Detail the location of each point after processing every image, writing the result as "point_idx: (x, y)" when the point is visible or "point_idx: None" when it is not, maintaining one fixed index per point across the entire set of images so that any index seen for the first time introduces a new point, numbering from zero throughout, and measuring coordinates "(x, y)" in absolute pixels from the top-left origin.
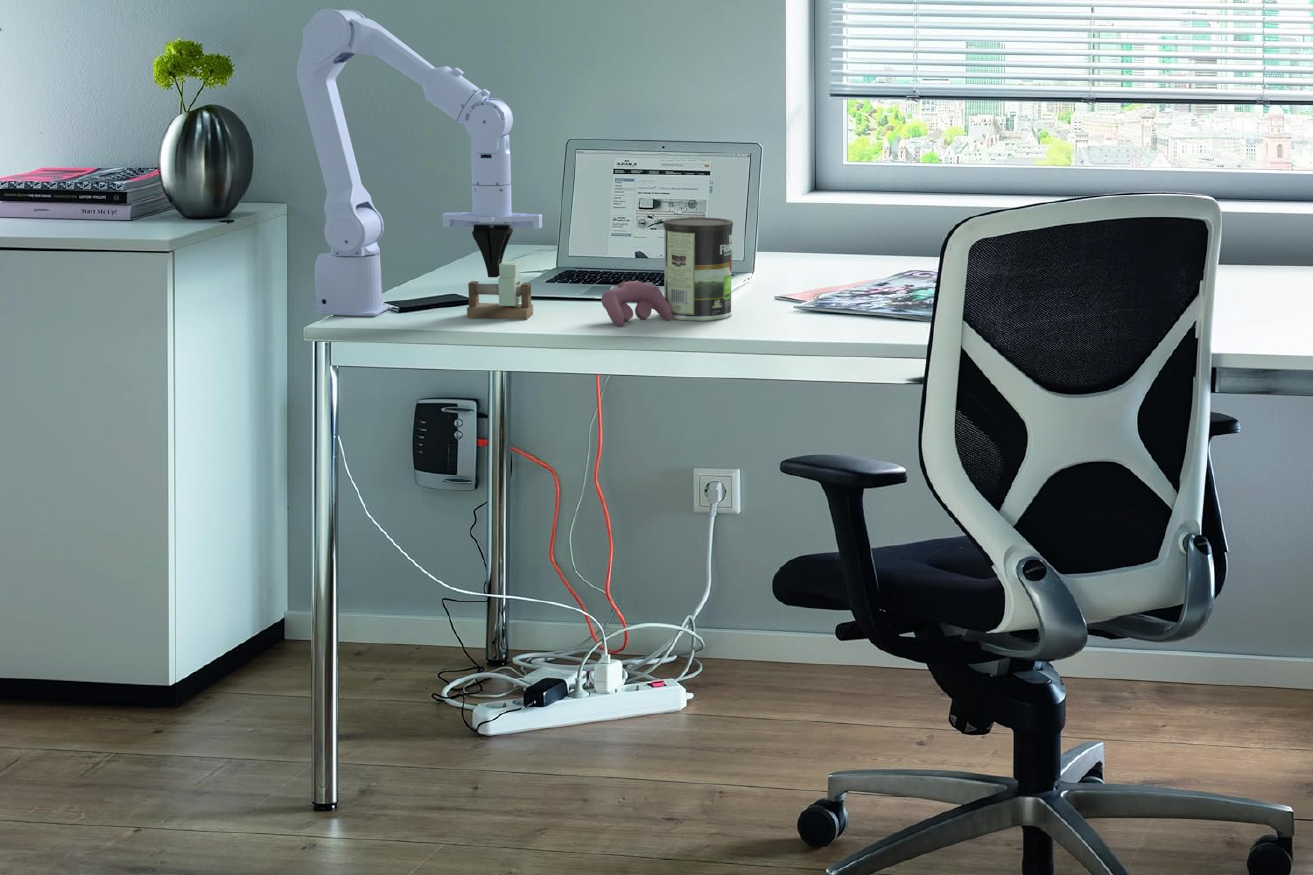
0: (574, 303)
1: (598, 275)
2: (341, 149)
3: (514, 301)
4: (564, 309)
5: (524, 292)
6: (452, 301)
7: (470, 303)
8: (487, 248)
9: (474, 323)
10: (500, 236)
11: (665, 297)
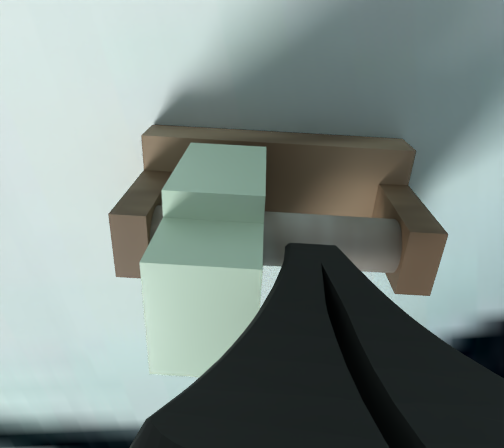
0: (89, 399)
1: None
2: None
3: (188, 148)
4: (84, 320)
5: (140, 199)
6: None
7: (405, 190)
8: (378, 350)
9: (361, 18)
10: (200, 427)
11: None
